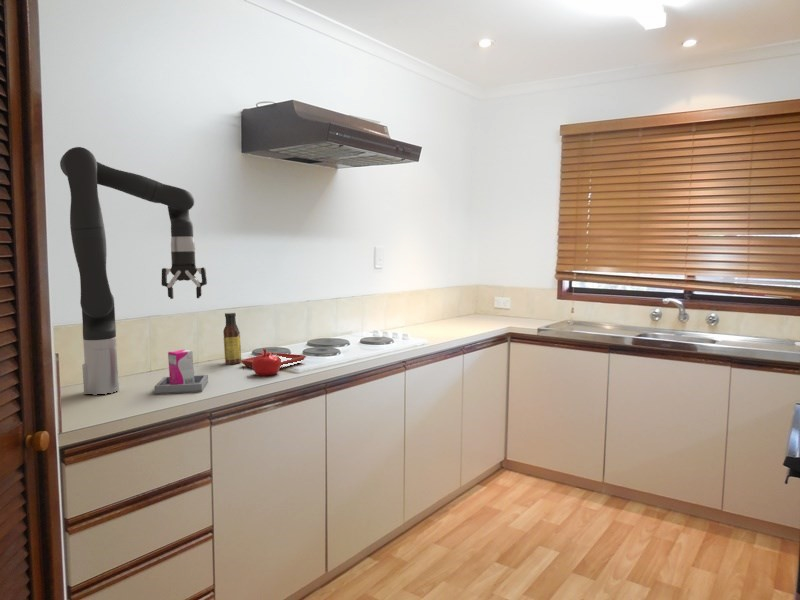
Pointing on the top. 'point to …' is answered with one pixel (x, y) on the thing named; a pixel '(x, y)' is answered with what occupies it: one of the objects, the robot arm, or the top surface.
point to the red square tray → (294, 357)
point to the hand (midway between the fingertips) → (185, 298)
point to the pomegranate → (266, 364)
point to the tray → (181, 385)
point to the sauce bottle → (231, 340)
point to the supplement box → (181, 367)
